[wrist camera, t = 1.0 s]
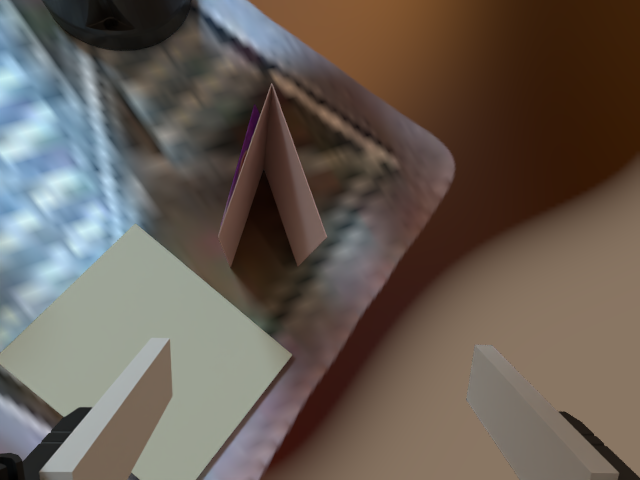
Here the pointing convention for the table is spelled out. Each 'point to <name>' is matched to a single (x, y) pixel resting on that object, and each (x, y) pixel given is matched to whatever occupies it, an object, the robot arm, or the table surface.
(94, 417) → the robot arm
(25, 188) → the table surface
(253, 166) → the greeting card
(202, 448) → the mat
